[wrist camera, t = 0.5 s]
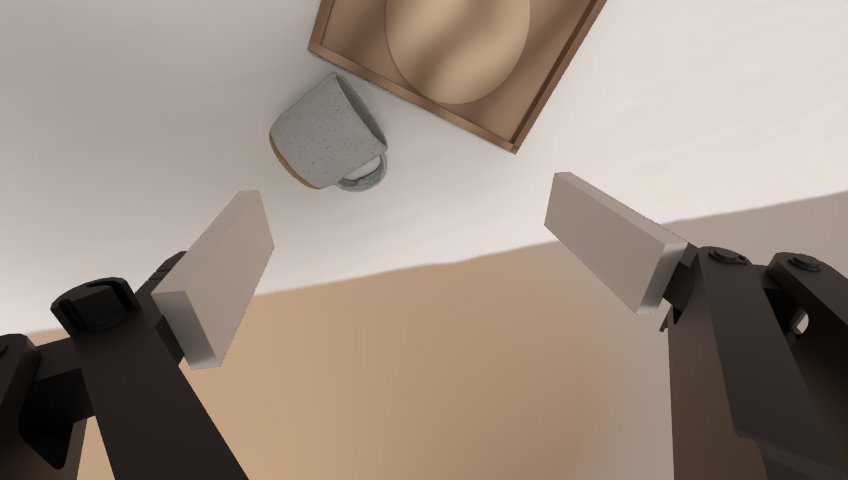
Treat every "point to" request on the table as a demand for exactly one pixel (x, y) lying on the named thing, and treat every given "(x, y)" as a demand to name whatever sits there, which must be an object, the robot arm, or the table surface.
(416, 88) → the tray
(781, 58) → the table surface
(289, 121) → the ceramic mug
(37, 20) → the table surface
